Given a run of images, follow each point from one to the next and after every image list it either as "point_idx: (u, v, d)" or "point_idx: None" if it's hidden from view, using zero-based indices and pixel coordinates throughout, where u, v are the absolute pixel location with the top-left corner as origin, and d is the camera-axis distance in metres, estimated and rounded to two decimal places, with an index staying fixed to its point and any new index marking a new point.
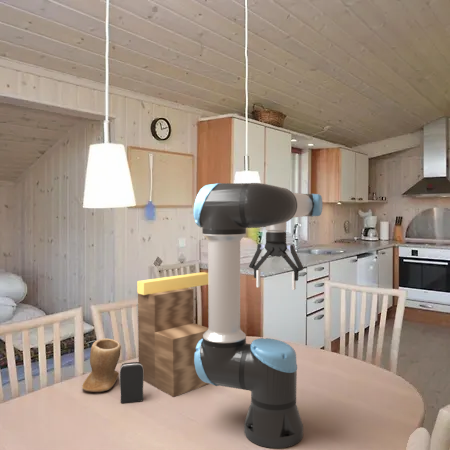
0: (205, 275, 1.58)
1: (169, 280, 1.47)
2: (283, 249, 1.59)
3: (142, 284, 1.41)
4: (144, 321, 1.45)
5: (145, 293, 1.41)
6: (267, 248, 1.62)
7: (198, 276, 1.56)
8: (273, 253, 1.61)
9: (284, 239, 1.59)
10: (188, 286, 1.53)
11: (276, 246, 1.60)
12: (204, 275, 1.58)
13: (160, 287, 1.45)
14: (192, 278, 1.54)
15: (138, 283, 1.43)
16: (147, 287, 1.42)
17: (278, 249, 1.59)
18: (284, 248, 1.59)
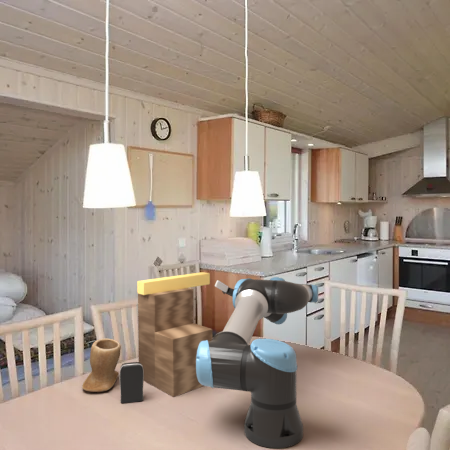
0: (205, 275, 1.58)
1: (169, 280, 1.47)
2: None
3: (142, 284, 1.41)
4: (144, 321, 1.45)
5: (145, 293, 1.41)
6: None
7: (198, 276, 1.56)
8: None
9: None
10: (188, 286, 1.53)
11: None
12: (204, 275, 1.58)
13: (160, 287, 1.45)
14: (192, 278, 1.54)
15: (138, 283, 1.43)
16: (147, 287, 1.42)
17: None
18: None
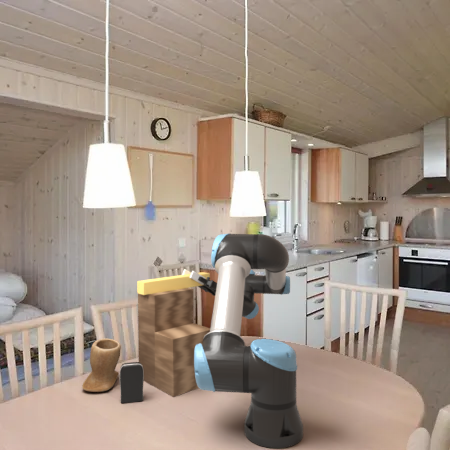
0: (205, 275, 1.58)
1: (169, 280, 1.47)
2: None
3: (142, 284, 1.41)
4: (144, 321, 1.45)
5: (145, 293, 1.41)
6: None
7: None
8: None
9: None
10: (188, 286, 1.53)
11: None
12: (204, 275, 1.58)
13: (160, 287, 1.45)
14: None
15: (138, 283, 1.43)
16: (147, 287, 1.42)
17: None
18: None
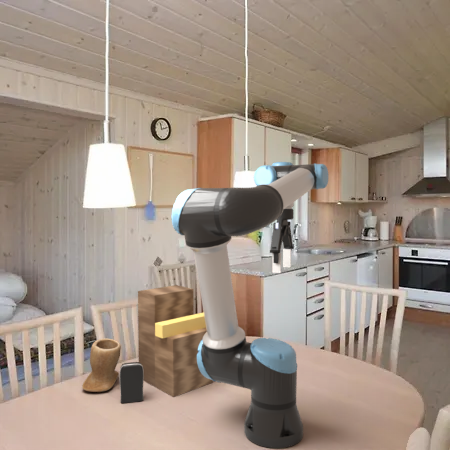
0: None
1: (188, 321, 1.41)
2: None
3: (160, 327, 1.35)
4: (144, 321, 1.45)
5: (164, 336, 1.34)
6: (283, 227, 1.46)
7: None
8: None
9: None
10: None
11: (285, 224, 1.49)
12: None
13: (179, 328, 1.38)
14: None
15: (156, 325, 1.36)
16: (165, 329, 1.35)
17: (288, 227, 1.49)
18: None
